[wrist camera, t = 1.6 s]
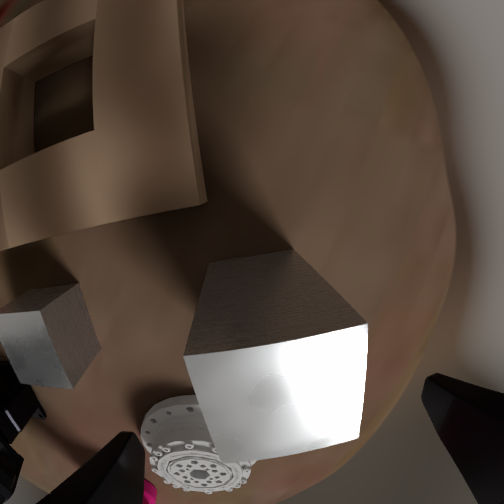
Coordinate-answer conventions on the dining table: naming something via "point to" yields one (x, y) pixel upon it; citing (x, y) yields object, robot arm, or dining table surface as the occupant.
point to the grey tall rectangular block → (275, 358)
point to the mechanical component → (187, 448)
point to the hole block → (98, 118)
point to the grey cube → (49, 336)
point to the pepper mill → (149, 493)
